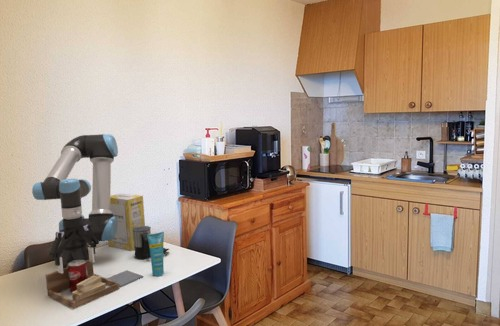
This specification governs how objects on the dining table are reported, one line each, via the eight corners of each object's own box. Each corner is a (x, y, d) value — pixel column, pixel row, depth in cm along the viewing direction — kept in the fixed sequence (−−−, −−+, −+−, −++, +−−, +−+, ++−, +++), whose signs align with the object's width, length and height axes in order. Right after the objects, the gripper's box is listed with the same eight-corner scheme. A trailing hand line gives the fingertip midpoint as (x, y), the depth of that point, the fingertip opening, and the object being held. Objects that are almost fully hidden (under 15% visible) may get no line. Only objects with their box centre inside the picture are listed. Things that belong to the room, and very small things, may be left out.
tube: (152, 277, 174) (149, 236, 172) (148, 274, 178) (145, 233, 176) (168, 273, 178) (165, 232, 176) (164, 270, 182) (161, 230, 180)
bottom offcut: (72, 300, 156) (71, 292, 155) (98, 288, 166) (98, 280, 165) (80, 303, 153) (79, 295, 153) (106, 291, 163) (105, 283, 163)
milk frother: (130, 257, 201) (128, 229, 199) (156, 248, 213) (154, 221, 211) (147, 263, 192) (144, 233, 190) (172, 253, 204) (171, 226, 202)
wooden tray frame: (47, 295, 160) (45, 274, 159) (92, 278, 176) (90, 259, 175) (74, 309, 148) (71, 286, 147) (119, 288, 164) (117, 268, 163)
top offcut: (77, 291, 156) (76, 284, 156) (94, 282, 164) (93, 275, 164) (85, 292, 154) (84, 285, 154) (101, 283, 163) (101, 276, 162)
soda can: (77, 295, 159) (74, 267, 158) (66, 292, 163) (63, 264, 162) (92, 288, 165) (90, 261, 164) (81, 285, 169) (79, 258, 168)
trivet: (103, 281, 173) (103, 279, 172) (126, 271, 182) (126, 270, 182) (120, 287, 165) (120, 285, 165) (143, 277, 175) (143, 275, 175)
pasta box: (108, 246, 219) (104, 197, 215) (123, 240, 228) (119, 193, 224) (132, 251, 210) (128, 199, 206) (146, 245, 219) (142, 195, 215)
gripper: (45, 225, 148) (51, 279, 150) (105, 211, 168) (108, 259, 170) (36, 222, 152) (41, 275, 155) (95, 209, 172) (98, 256, 175)
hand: (76, 267), depth 162 cm, fingers open, 13 cm apart
